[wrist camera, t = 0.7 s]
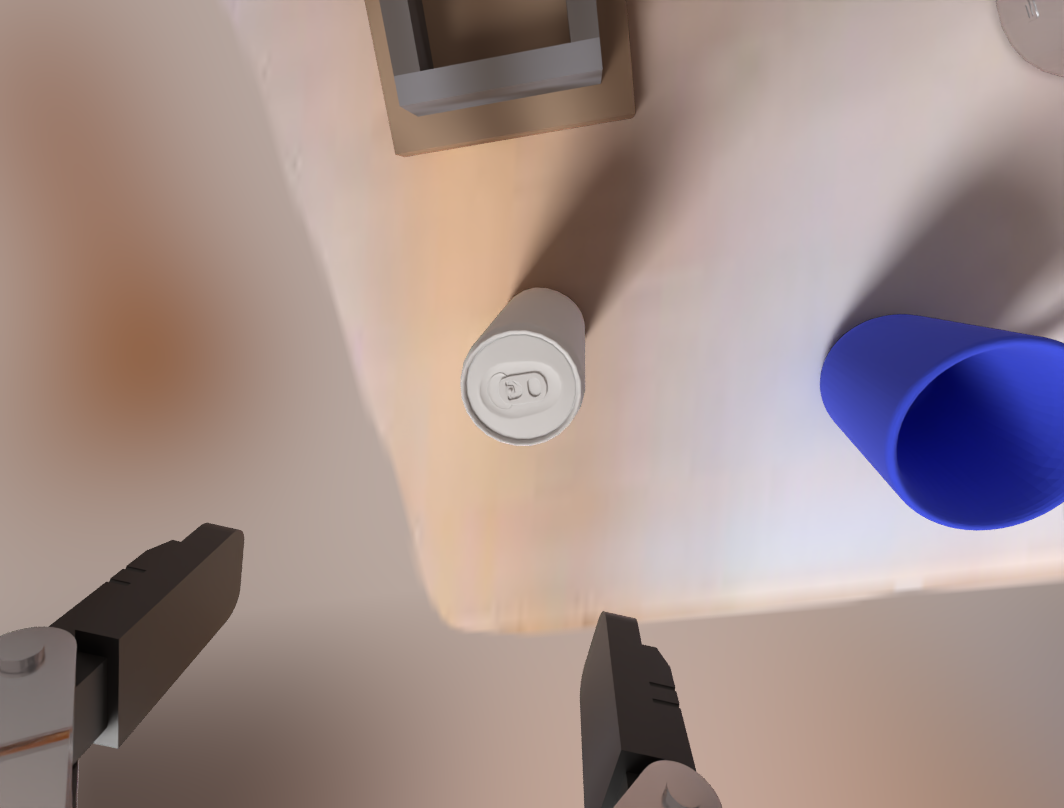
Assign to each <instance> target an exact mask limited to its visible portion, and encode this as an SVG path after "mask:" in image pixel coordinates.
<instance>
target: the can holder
mask: <svg viewBox="0 0 1064 808" xmlns="http://www.w3.org/2000/svg"><path fill="white" fill-rule="evenodd" d="M365 5H366V10H367V15H368V20H369V25H370V30H371V35H372V40H373V45H374V50H375V55H376V60H377V65H378V70H379V75H380V80H381V85H382V90H383V95H384V100H385V105H386V110H387V115H388V120H389V124H390V129H391V134H392V139H393V144H394V149H395V154H396V155H399V156H403V157H407V156H413V155H419V154H424V153H430V152H436V151H442V150H448V149H454V148H459V147H465V146H471V145H477V144H483V143H489V142H494V141H500V140H506V139H512V138H518V137H524V136H529V135H535V134H541V133H547V132H553V131H559V130H564V129H570V128H576V127H582V126H588V125H594V124H599V123H605V122H611V121H617V120H623V119H629V118H633V117H634V115H635V101H634V89H633V76H632V64H631V52H630V40H629V28H628V16H627V4H626V0H365Z"/></svg>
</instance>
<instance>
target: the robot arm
mask: <svg viewBox="0 0 1064 808" xmlns="http://www.w3.org/2000/svg"><path fill="white" fill-rule="evenodd" d="M997 9H998V13H999V17H1000V21H1001V25H1002V28H1003V30H1004V32H1005V34H1006V36H1007V38H1008V40H1009V42H1010V44H1011V45H1012V47H1013V48H1014V49H1015V50H1016V51H1017V52H1018V53H1019V54H1020V55H1021V56H1022V57H1023V58H1024V60H1025V61H1027V62H1029V63H1030V64H1032V65H1034V66H1035V67H1037V68H1039V69H1040V70H1042V71H1045V72H1048V73H1051V74H1055V75H1058V76H1062V77H1064V0H997ZM243 548H244V534H243V532H242V531H241V530H237V529H233V528H228V527H224V526H219V525H215V524H210V523H205V524H202V525H201V526H200V527H198V528H197V529H196V530H195V531H194V532H192V533H191V534H190V535H189V536H188V537H186V538H185V539H184V540H183V541H182V542H179V541H175V540H171V541H169V542H166V543H164V544H161V545H159V546H157V547H154V548H152V549H149V550H147V551H145V552H144V553H143V554H141V555H140V556H139V557H138V558H136V559H135V560H134V561H132V562H131V563H130V564H129V565H127V567H126V569H122V570H121V571H120V572H118V573H117V574H116V575H115V576H113V577H112V578H111V579H110V581H109V582H105V583H104V584H103V585H102V586H100V587H99V588H98V589H97V590H95V591H94V592H93V593H91V594H90V595H89V596H87V597H86V598H85V599H84V600H82V601H81V602H80V603H79V604H77V605H76V606H75V607H73V608H72V609H71V610H69V611H68V612H67V613H66V614H64V615H63V616H62V617H60V618H59V619H58V620H57V621H55V622H54V623H53V624H51V625H50V626H49V627H31V628H25V629H20V630H16V631H12V632H9V633H6V634H3V635H1V636H0V808H77V797H78V773H79V772H78V771H79V758H80V757H81V756H82V755H83V754H84V752H85V751H86V750H87V749H88V748H89V747H90V746H91V744H93V743H94V744H99V745H103V746H108V747H113V748H117V749H118V748H119V747H120V746H121V745H122V743H123V742H124V741H125V740H126V739H127V737H128V736H129V735H130V734H131V733H132V732H133V730H134V729H135V728H136V727H137V726H138V725H139V723H140V722H141V721H142V720H143V719H144V718H145V716H146V715H147V714H148V713H149V712H150V710H151V709H152V708H153V707H154V706H155V705H156V703H157V702H158V701H159V700H160V699H161V697H162V696H163V695H164V694H165V693H166V692H167V690H168V689H169V688H170V687H171V686H172V684H173V683H174V682H175V681H176V680H177V679H178V677H179V676H180V675H181V674H182V673H183V672H184V670H185V669H186V668H187V667H188V666H189V665H190V663H191V662H192V661H193V660H194V659H195V658H196V656H197V655H198V654H199V653H200V652H201V650H202V649H203V648H204V647H205V646H206V645H207V643H208V642H209V641H210V640H211V639H212V638H213V636H214V635H215V634H216V633H217V632H218V630H219V629H220V628H221V627H222V626H223V625H224V623H225V622H226V621H227V620H228V618H229V617H230V615H231V614H232V612H233V610H234V608H235V606H236V603H237V600H238V597H239V592H240V584H241V572H242V560H243ZM580 710H581V711H580V712H581V736H582V760H583V780H584V781H583V784H584V806H585V808H722V805H721V802H720V800H719V798H718V796H717V794H716V792H715V791H714V789H713V788H712V787H711V785H710V784H709V783H708V782H707V781H706V780H705V779H704V778H703V777H702V776H701V775H700V774H698V773H697V772H696V768H695V764H694V761H693V757H692V753H691V749H690V745H689V741H688V737H687V733H686V729H685V725H684V721H683V717H682V713H681V709H680V708H679V701H678V697H677V693H676V691H675V685H674V681H673V677H672V673H671V669H670V666H669V665H668V663H667V662H666V661H665V659H664V658H663V656H662V655H661V654H660V652H659V651H658V649H657V648H655V647H651V646H646V645H642V644H641V638H640V633H639V628H638V623H637V620H636V619H635V618H631V617H626V616H622V615H617V614H613V613H608V612H604V611H603V612H602V613H601V615H600V617H599V620H598V623H597V626H596V629H595V633H594V636H593V639H592V642H591V646H590V649H589V652H588V656H587V659H586V662H585V665H584V670H583V674H582V679H581V688H580Z"/></svg>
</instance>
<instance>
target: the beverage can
mask: <svg viewBox="0 0 1064 808" xmlns="http://www.w3.org/2000/svg"><path fill="white" fill-rule="evenodd" d="M584 393H585V323H584V319H583V316H582V313H581V311H580V310H579V308H578V307H577V305H576V304H575V303H574V302H573V301H572V300H571V299H570V298H569V297H567V296H565V295H564V294H562V293H560V292H558V291H555V290H552V289H548V288H537V287H534V288H531V289H527V290H524V291H522V292H520V293H519V294H517V295H516V296H514V297H513V298H512V299H511V300H510V302H509V303H508V304H507V305H506V306H505V307H504V309H503V310H502V311H501V312H500V313H499V315H498V316H497V317H496V318H495V319H494V321H493V322H492V323H491V324H490V325H489V327H488V328H487V329H486V330H485V331H484V333H483V334H482V335H481V336H480V337H479V339H478V340H477V341H476V342H475V343H474V345H473V346H472V347H471V349H470V351H469V353H468V355H467V357H466V359H465V361H464V364H463V369H462V374H461V395H462V400H463V403H464V406H465V408H466V411H467V413H468V415H469V416H470V418H471V419H472V420H473V422H474V423H475V425H476V426H477V427H479V428H480V429H481V430H482V431H483V432H484V433H485V434H487V435H488V436H490V437H492V438H494V439H496V440H498V441H500V442H502V443H507V444H511V445H515V446H532V445H535V444H539V443H543V442H546V441H548V440H550V439H552V438H554V437H555V436H557V435H559V434H560V433H561V432H562V431H563V430H564V429H565V428H566V427H567V426H568V425H569V424H570V423H571V421H572V420H573V419H574V417H575V415H576V414H577V412H578V410H579V409H580V407H581V404H582V400H583V396H584Z"/></svg>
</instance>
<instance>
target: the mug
mask: <svg viewBox="0 0 1064 808" xmlns="http://www.w3.org/2000/svg"><path fill="white" fill-rule="evenodd" d="M820 391H821V396H822V400H823V403H824V405H825V408H826V410H827V412H828V413H829V415H830V417H831V418H832V419H833V421H834V422H835V423H836V424H837V425H838V427H839V428H840V429H841V430H842V431H843V432H844V433H845V435H846V436H847V437H848V438H849V439H850V440H851V442H852V443H853V444H854V445H855V446H856V447H857V448H858V450H859V451H860V452H861V453H862V454H863V455H864V456H865V458H866V459H867V460H868V461H869V462H870V463H871V464H872V466H873V467H874V468H875V469H876V470H877V471H878V473H879V474H880V475H881V476H882V477H883V478H884V479H885V481H886V482H887V483H888V484H889V485H890V486H891V487H892V489H893V490H894V491H895V492H896V493H897V494H898V495H899V497H900V498H901V499H902V500H903V501H904V502H905V503H906V504H907V505H908V506H909V507H910V508H912V509H913V510H914V511H915V512H917V513H918V514H920V515H922V516H923V517H925V518H927V519H929V520H931V521H933V522H936V523H938V524H941V525H944V526H948V527H952V528H957V529H964V530H991V529H1000V528H1005V527H1010V526H1014V525H1017V524H1020V523H1024V522H1026V521H1029V520H1032V519H1034V518H1036V517H1038V516H1041V515H1043V514H1045V513H1047V512H1048V511H1050V510H1052V509H1054V508H1055V507H1057V506H1058V505H1060V504H1061V503H1063V502H1064V343H1062V342H1059V341H1056V340H1053V339H1049V338H1045V337H1040V336H1034V335H1028V334H1022V333H1016V332H1011V331H1005V330H999V329H993V328H987V327H982V326H976V325H970V324H964V323H958V322H952V321H947V320H941V319H935V318H929V317H923V316H917V315H908V314H895V315H886V316H881V317H877V318H873V319H871V320H868V321H865V322H863V323H861V324H859V325H857V326H856V327H854V328H853V329H851V330H850V331H848V332H847V333H846V334H844V335H843V336H842V337H841V338H840V339H839V340H838V341H837V342H836V343H835V345H834V346H833V347H832V349H831V350H830V352H829V353H828V355H827V357H826V359H825V362H824V364H823V367H822V371H821V377H820Z"/></svg>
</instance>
